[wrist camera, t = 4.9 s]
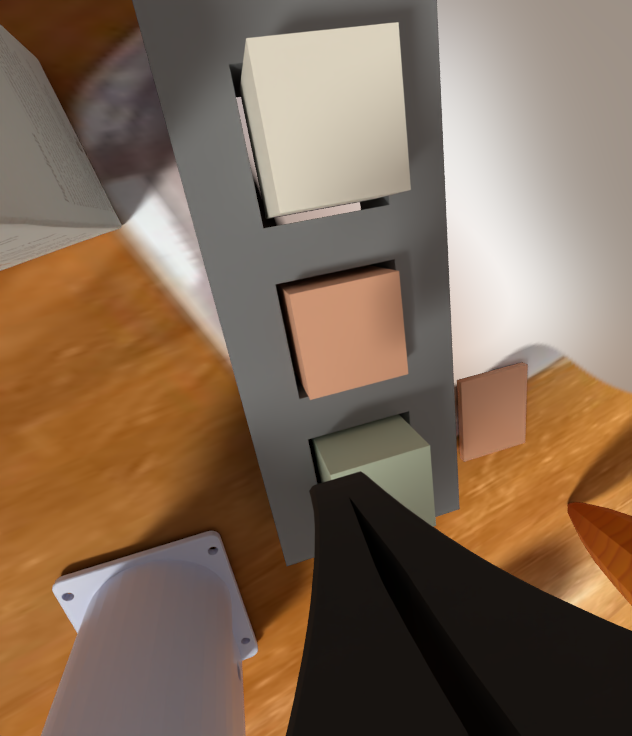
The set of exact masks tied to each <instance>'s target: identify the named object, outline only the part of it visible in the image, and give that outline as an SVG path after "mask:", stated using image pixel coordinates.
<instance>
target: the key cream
mask: <svg viewBox="0 0 632 736" xmlns="http://www.w3.org/2000/svg"><path fill="white" fill-rule="evenodd" d="M240 94H241V99H242V104H243V109H244V114H245V119H246V123H247V128H248V133H249V138H250V142H251V148H252V152H253V157H254V162H255V167H256V172H257V177H258V182H259V186H260V191H261V196H262V201H263V206H264V211H265V215H266V219H269V218H274V217H280V216H285V215H291V214H296V213H301V212H307V211H313V210H318V209H324V208H329V207H334V206H340V205H345V204H350V203H356V202H362V201H367V200H372V199H376V198H380V197H384V196H388V195H392V194H396V193H400V192H404V191H408V190H411V184H410V171H409V157H408V144H407V131H406V117H405V104H404V90H403V77H402V63H401V50H400V37H399V23H398V22H396V23H386V24H377V25H367V26H358V27H348V28H339V29H329V30H319V31H310V32H300V33H291V34H281V35H272V36H262V37H253V38H246V43H245V51H244V59H243V66H242V74H241V82H240Z"/></svg>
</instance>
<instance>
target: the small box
mask: <svg viewBox="0 0 632 736" xmlns="http://www.w3.org/2000/svg"><path fill="white" fill-rule="evenodd" d="M119 228H121V223H120V221H119V219H118V217H117V215H116V213H115V211H114V209H113V207H112V205H111V203H110V201H109V199H108V197H107V195H106V193H105V191H104V189H103V187H102V185H101V183H100V181H99V179H98V177H97V175H96V173H95V171H94V169H93V167H92V165H91V164H90V162H89V160H88V158H87V156H86V154H85V152H84V150H83V148H82V146H81V144H80V142H79V140H78V138H77V136H76V134H75V132H74V130H73V128H72V126H71V124H70V122H69V120H68V118H67V116H66V114H65V112H64V110H63V108H62V106H61V104H60V102H59V100H58V98H57V96H56V94H55V92H54V90H53V88H52V86H51V84H50V82H49V80H48V78H47V77H46V75H45V73H44V71H43V69H42V66H41V64H40V62H39V61H38V59H37V58H36V57H35V56H34V55H33V54H32V53H31V52H30V51H28V50H27V49H26V48H25V47H24V46H23V45H22V44H21V43H20V42H19V41H18V40H17V39H16V38H14V37H13V36H12V35H11V34H10V33H9V32H8V31H7V30H6V29H5V28H4V27H3V26H2V25H0V271H1V270H4V269H6V268H9V267H12V266H15V265H18V264H20V263H23V262H26V261H29V260H31V259H34V258H37V257H40V256H43V255H45V254H48V253H51V252H54V251H56V250H59V249H62V248H65V247H67V246H70V245H73V244H76V243H79V242H82V241H84V240H87V239H90V238H93V237H96V236H99V235H102V234H104V233H107V232H111V231H114V230H117V229H119Z"/></svg>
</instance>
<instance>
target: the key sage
mask: <svg viewBox="0 0 632 736" xmlns="http://www.w3.org/2000/svg"><path fill="white" fill-rule="evenodd" d="M312 443H313V448H314V453H315V458H316V463H317V468H318V472H319V477H320V482H321V483H323V482H326V481H330V480H333V479H336V478H340V477H343V476H346V475H350V474H353V473H356V472H359V471H361V472H363V473H364V474H366V475H367V476H368V477H369V478H370V479H372V480H373V481H374V482H375V483H376V484H377V485H379V486H380V487H381V488H382V489H384V490H385V491H386V492H387V493H388V494H390V495H391V496H392V497H393V498H395V499H396V500H397V501H399V502H400V503H401V504H402V505H404V506H405V507H406V508H408V509H409V510H410V511H412V512H413V513H415V514H416V515H417V516H419V517H420V518H421V519H423V520H424V521H426V522H427V523H428V524H430V525H431V526H436V520H435V506H434V493H433V479H432V466H431V453H430V445H429V444H428V443H427V442H426V441H425V440H424V439H423V438H422V437H421V436H420V435H419V434H418V433H417V432H416V431H415V430H414V429H413V428H412V427H411V426H410V425H409V424H408V423H407V422H406V421H405V420H404V419H403V418H402V417H401V416H400V415H399V414H397V415H393V416H390V417H386V418H383V419H379V420H375V421H372V422H368V423H365V424H361V425H358V426H354V427H351V428H347V429H343V430H340V431H336V432H333V433H329V434H326V435H322V436H319V437H315V438H312Z"/></svg>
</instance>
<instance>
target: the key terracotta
mask: <svg viewBox="0 0 632 736" xmlns="http://www.w3.org/2000/svg"><path fill="white" fill-rule="evenodd" d="M276 287H277V292H278V297H279V301H280V306H281V311H282V316H283V321H284V325H285V330H286V335H287V340H288V344H289V349H290V354H291V359H292V363H293V368H294V371H295V373H296V375H297V376H298V378H299V380H300V382H301V384H302V386H303V387H304V389H305V391H306V393H307V395H308V397H309V398H310V400H312V399H316V398H320V397H323V396H327V395H331V394H335V393H339V392H342V391H346V390H350V389H354V388H358V387H361V386H365V385H369V384H373V383H376V382H380V381H384V380H388V379H392V378H395V377H399V376H403V375H407V374H408V364H407V353H406V342H405V331H404V320H403V309H402V298H401V287H400V276H399V271H397V270H391V269H386V268H381V267H376V266H371V265H365V266H360V267H355V268H351V269H346V270H341V271H336V272H332V273H327V274H322V275H318V276H313V277H308V278H303V279H299V280H294V281H289V282H284V283H280V284H276Z"/></svg>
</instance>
